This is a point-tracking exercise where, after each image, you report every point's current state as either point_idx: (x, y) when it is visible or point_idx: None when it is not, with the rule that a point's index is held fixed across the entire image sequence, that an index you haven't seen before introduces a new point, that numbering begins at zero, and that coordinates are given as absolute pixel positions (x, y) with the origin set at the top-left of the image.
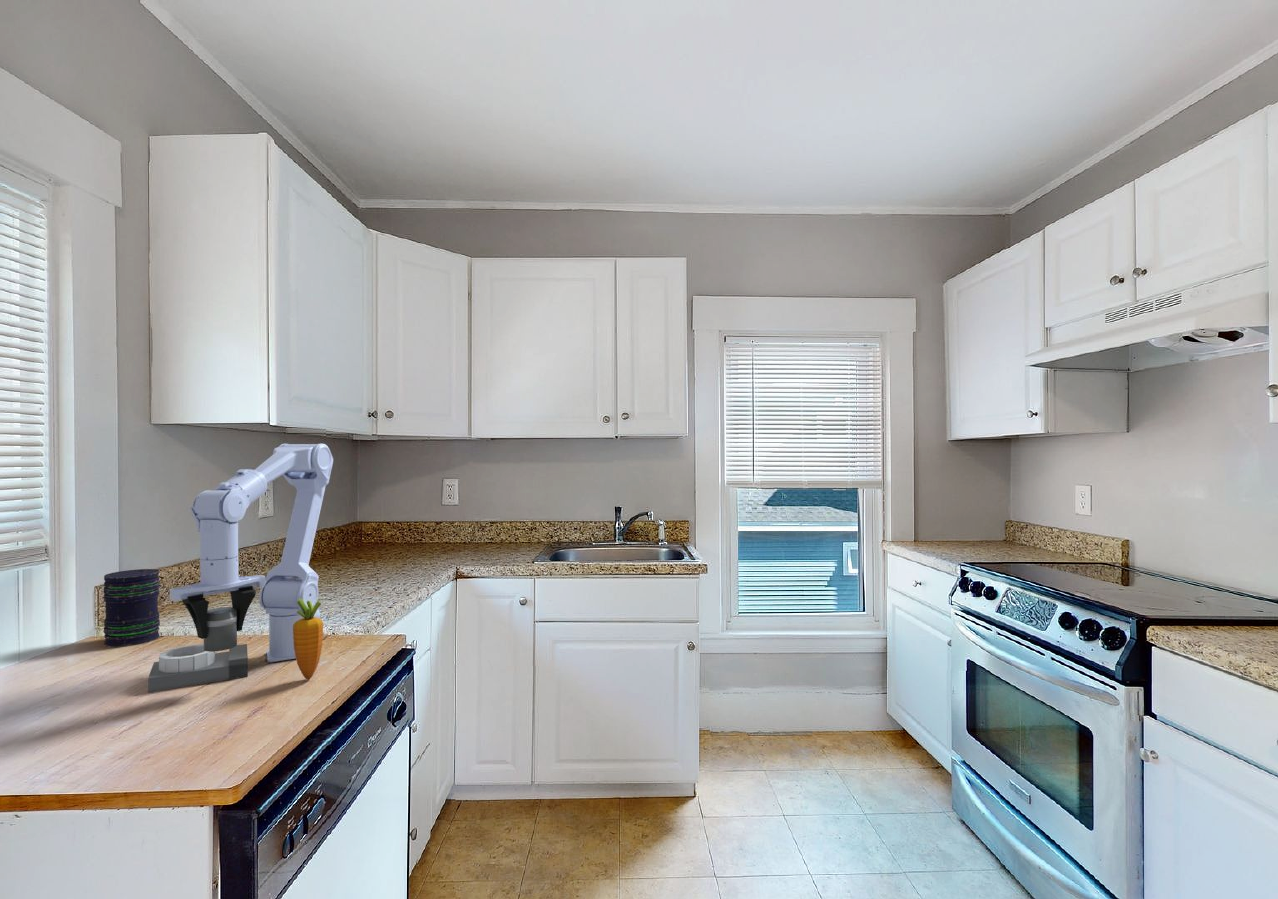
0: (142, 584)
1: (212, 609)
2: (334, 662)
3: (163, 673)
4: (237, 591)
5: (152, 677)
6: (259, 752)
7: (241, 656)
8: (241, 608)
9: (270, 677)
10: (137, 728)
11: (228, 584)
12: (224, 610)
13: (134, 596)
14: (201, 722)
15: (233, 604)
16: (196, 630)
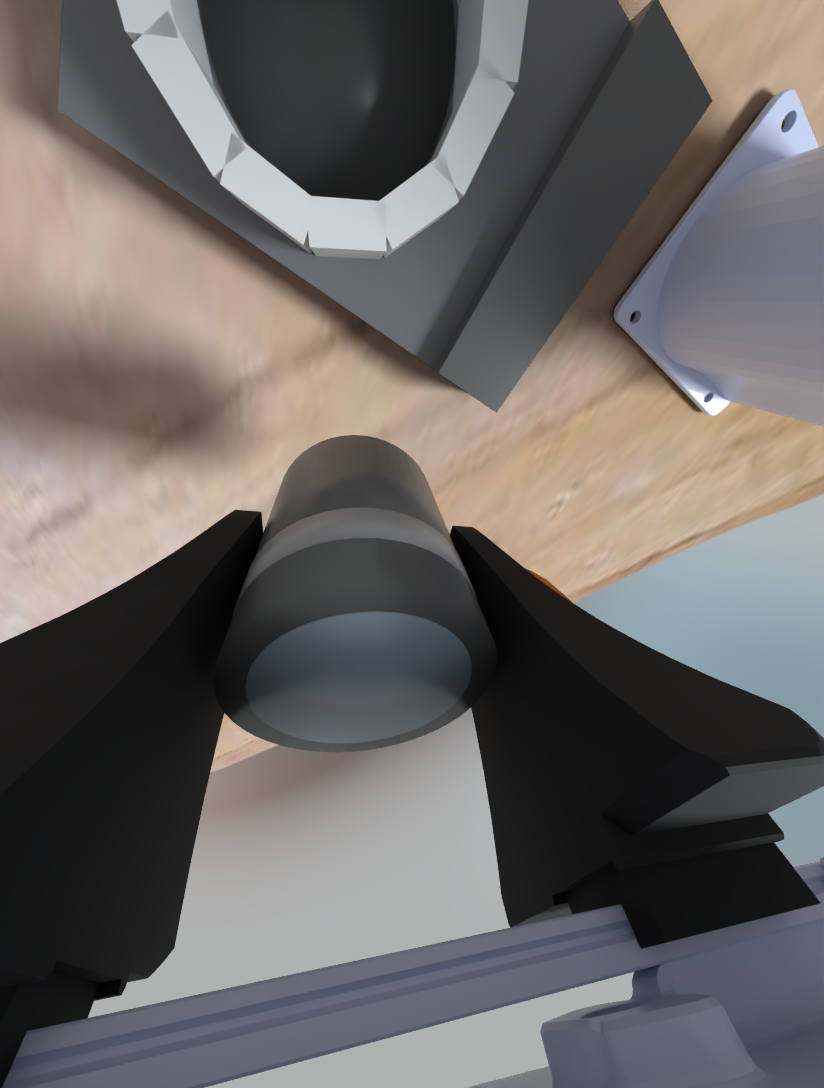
0: None
1: (338, 621)
2: (638, 508)
3: (160, 104)
4: (586, 880)
5: (87, 126)
6: (261, 739)
7: (501, 366)
8: (481, 728)
9: (491, 470)
10: (77, 539)
11: None
12: (383, 708)
13: None
14: None
15: (531, 656)
16: (208, 529)
